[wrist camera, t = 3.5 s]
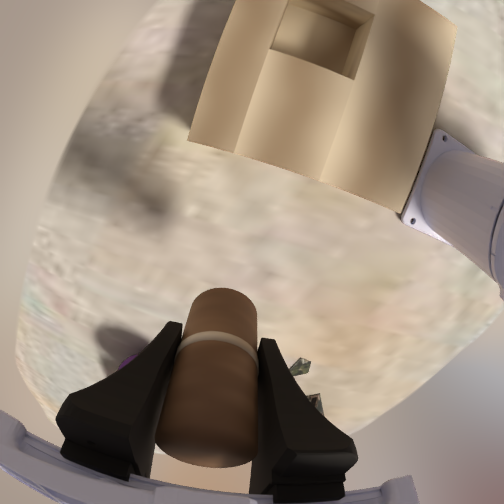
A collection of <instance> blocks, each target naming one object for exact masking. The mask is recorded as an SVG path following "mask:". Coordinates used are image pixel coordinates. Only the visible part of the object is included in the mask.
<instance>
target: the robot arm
mask: <svg viewBox="0 0 504 504" xmlns="http://www.w3.org/2000/svg"><path fill="white" fill-rule="evenodd" d="M443 136H444V137H445V140H444V141H443V140H442V137H443ZM412 218H414V220H413V222H412V223H410V221H411V219H412ZM401 221H402V223H404V224H405V225H407V226H409V227H412V228H414V229H416V230H418V231H421V232H423V233H425V234H427V235H429V236H432V237H434V238H436V239H438V240H440V241H442V242H444V243H446V244H449V245H451V246H453V247H455V248H456V249H457V250H459V251H460V252H461V253H462V254H464V255H465V256H466V257H467V258H469V259H470V260H471V261H472V262H473V263H475V264H476V265H477V266H478V267H479V268H480V269H482V270H483V271H484V272H485V273H486V274H487V275H489V276H490V277H491V278H492V279H493V280H494V281H495V282H497V283H498V285H499V287H500V297H501V298H502V299H503V300H504V163H502V162H499V161H496V160H493V159H489V158H486V157H482V156H479V155H476V154H475V153H474V152H472V151H471V150H470V149H468V148H467V147H466V146H464V145H463V144H462V143H460V142H459V141H457V140H456V139H455V138H453V137H452V136H450V135H449V134H447V133H446V132H444V131H443V130H441V129H435V130H434V132H433V134H432V137H431V140H430V143H429V146H428V149H427V152H426V155H425V158H424V160H423V163H422V166H421V169H420V171H419V174H418V176H417V179H416V182H415V184H414V187H413V189H412V192H411V194H410V197H409V199H408V201H407V204H406V206H405V209H404V211H403V213H402V215H401ZM181 337H182V323H177V322H172V321H169V322H168V323H167V324H166V325H165V327H164V328H163V329H162V330H161V332H160V333H159V334H158V335H157V336H156V337H155V338H154V339H153V340H152V341H151V343H150V344H149V345H148V346H147V347H146V348H145V349H144V350H142V351H141V352H140V353H139V354H138V355H137V356H136V357H135V358H134V359H132V360H131V361H130V362H129V363H127V364H126V365H125V366H123V367H122V368H121V369H119V370H118V371H116V372H115V373H113V374H112V375H110V376H108V377H107V378H105V379H103V380H101V381H99V382H97V383H95V384H93V385H91V386H89V387H87V388H85V389H82V390H79V391H77V392H74V393H71V394H69V396H68V397H67V398H66V400H65V401H64V403H63V404H62V406H61V408H60V410H59V412H58V414H57V416H56V422H57V425H58V427H59V429H60V430H61V432H62V434H63V435H64V437H65V441H64V443H63V445H62V448H60V447H58V446H56V445H54V444H52V443H50V442H48V441H45V440H43V439H41V438H40V437H38V436H36V435H34V434H32V433H30V432H28V431H27V430H26V428H25V427H24V425H23V424H22V423H21V422H20V421H18V420H17V419H16V418H14V417H12V416H11V415H9V414H7V413H5V412H4V411H2V410H0V468H1V469H2V470H3V471H5V472H6V473H8V474H9V475H11V476H12V477H14V478H16V479H17V480H19V481H20V482H22V483H24V484H25V485H27V486H29V487H30V488H32V489H34V490H36V491H37V492H39V493H41V494H43V495H44V496H46V497H48V498H50V499H52V500H54V501H56V502H58V503H59V504H420V503H419V500H418V496H417V492H416V489H415V486H414V482H413V479H412V476H411V475H407V476H403V477H398V478H394V479H390V480H388V481H386V482H385V483H383V484H382V485H381V486H379V487H373V488H367V489H360V490H353V491H346V492H345V490H344V484H343V482H344V481H345V480H346V478H345V473H346V472H347V471H348V470H349V469H350V468H351V467H353V466H354V464H355V463H356V462H357V461H358V455H357V450H356V447H355V444H354V442H353V439H352V438H350V437H349V436H348V435H346V434H345V433H343V432H342V431H341V430H339V429H338V428H337V427H335V426H334V425H333V424H332V423H331V422H330V421H328V420H327V419H326V418H325V417H324V416H323V415H322V414H321V413H320V412H319V411H318V410H317V409H316V408H315V406H314V405H313V404H312V403H311V402H310V400H309V399H308V398H307V397H306V395H305V394H304V393H303V391H302V390H301V388H300V387H299V385H298V384H297V382H296V381H295V379H294V377H293V376H292V374H291V372H290V370H289V369H288V367H287V365H286V363H285V361H284V359H283V357H282V355H281V353H280V350H279V348H278V346H277V343H276V341H275V340H274V339H268V338H261V341H260V345H259V348H258V351H257V356H258V360H259V374H258V454H257V456H256V457H255V458H254V459H253V460H252V467H251V478H250V488H249V494H241V493H230V492H221V491H213V490H205V489H199V488H192V487H187V486H181V485H176V484H171V483H166V482H162V481H158V480H153V479H150V472H151V466H152V460H153V454H154V449H155V444H156V442H155V433H156V429H157V425H158V421H159V417H160V413H161V410H162V406H163V402H164V398H165V395H166V391H167V388H168V384H169V380H170V377H171V373H172V370H173V366H174V359H175V355H176V352H177V349H178V347H179V345H180V342H181Z"/></svg>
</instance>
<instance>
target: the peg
mask: <svg viewBox="0 0 504 504" xmlns="http://www.w3.org/2000/svg"><path fill="white" fill-rule="evenodd" d="M258 374H259V360H258V356H257V311H256V308H255V306H254V304H253V303H252V301H251V300H250V299H249V298H248V297H247V296H245V295H244V294H242V293H240V292H238V291H236V290H233V289H229V288H214V289H210V290H207V291H205V292H203V293H201V294H200V295H199V296H198V297H197V298H196V299H195V300H194V302H193V303H192V306H191V309H190V312H189V316H188V319H187V322H186V326H185V329H184V332H183V335H182V339H181V342H180V345H179V347H178V349H177V352H176V355H175V359H174V366H173V370H172V373H171V377H170V380H169V384H168V388H167V391H166V395H165V398H164V402H163V406H162V410H161V413H160V417H159V421H158V425H157V429H156V433H155V442H156V444H157V446H158V447H159V448H160V449H161V450H162V451H164V452H165V453H166V454H168V455H169V456H171V457H173V458H176V459H177V460H180V461H182V462H185V463H189V464H192V465H197V466H203V467H210V468H227V467H235V466H240V465H243V464H246V463H248V462H250V461H252V460H253V459H254V458H255V457H256V456H257V454H258Z"/></svg>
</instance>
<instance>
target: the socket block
mask: <svg viewBox="0 0 504 504" xmlns="http://www.w3.org/2000/svg"><path fill="white" fill-rule="evenodd" d="M456 32H457V26H456V25H455V24H453V23H452V22H451V21H449V20H448V19H446V18H445V17H444V16H442V15H441V14H439V13H438V12H436V11H435V10H433V9H432V8H430V7H429V6H427V5H426V4H424V3H423V2H421V1H419V0H236V1H235V4H234V6H233V8H232V11H231V13H230V16H229V18H228V21H227V23H226V26H225V28H224V31H223V33H222V36H221V38H220V41H219V44H218V46H217V49H216V52H215V55H214V57H213V60H212V63H211V66H210V69H209V72H208V74H207V77H206V80H205V83H204V86H203V89H202V92H201V96H200V99H199V102H198V105H197V108H196V112H195V115H194V118H193V122H192V125H191V128H190V132H189V135H188V139H187V141H191V142H195V143H199V144H202V145H206V146H210V147H214V148H217V149H221V150H224V151H228V152H231V153H235V154H238V155H242V156H245V157H248V158H252V159H255V160H258V161H261V162H264V163H268V164H271V165H274V166H277V167H280V168H283V169H286V170H289V171H292V172H295V173H298V174H301V175H303V176H306V177H309V178H312V179H315V180H317V181H320V182H323V183H326V184H328V185H331V186H334V187H336V188H339V189H342V190H344V191H347V192H349V193H352V194H354V195H357V196H359V197H362V198H364V199H367V200H369V201H372V202H374V203H376V204H379V205H381V206H384V207H386V208H388V209H390V210H393V211H395V212H397V213H401V211H402V209H403V206H404V204H405V202H406V199H407V197H408V194H409V192H410V190H411V187H412V185H413V182H414V179H415V177H416V174H417V172H418V169H419V166H420V164H421V161H422V158H423V155H424V152H425V150H426V147H427V144H428V141H429V138H430V135H431V132H432V129H433V125H434V122H435V119H436V116H437V112H438V109H439V106H440V102H441V99H442V95H443V91H444V87H445V83H446V79H447V75H448V71H449V67H450V63H451V58H452V53H453V48H454V43H455V38H456Z"/></svg>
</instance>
